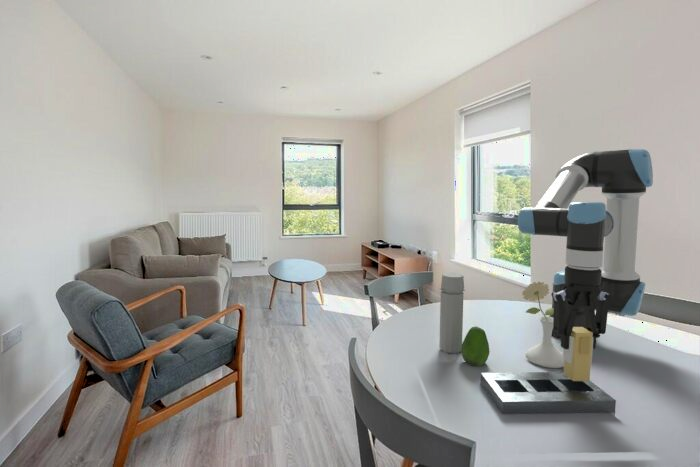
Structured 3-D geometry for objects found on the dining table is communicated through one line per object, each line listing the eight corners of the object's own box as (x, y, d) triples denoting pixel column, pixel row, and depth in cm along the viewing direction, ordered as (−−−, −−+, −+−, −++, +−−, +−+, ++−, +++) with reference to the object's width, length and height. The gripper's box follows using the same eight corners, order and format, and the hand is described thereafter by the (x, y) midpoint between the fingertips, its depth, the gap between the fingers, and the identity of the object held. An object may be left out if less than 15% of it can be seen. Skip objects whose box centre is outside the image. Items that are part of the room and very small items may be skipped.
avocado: (485, 373, 109) (486, 333, 107) (457, 367, 113) (459, 327, 112) (491, 363, 115) (492, 324, 114) (465, 357, 120) (466, 320, 118)
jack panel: (577, 386, 102) (578, 371, 101) (614, 416, 88) (615, 400, 87) (480, 387, 101) (480, 372, 101) (502, 418, 87) (502, 401, 87)
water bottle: (464, 355, 121) (466, 278, 118) (438, 353, 122) (440, 277, 120) (461, 344, 130) (463, 272, 127) (437, 342, 131) (439, 271, 129)
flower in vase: (563, 358, 119) (568, 279, 116) (571, 374, 108) (576, 288, 105) (517, 352, 123) (521, 276, 120) (521, 368, 112) (524, 284, 110)
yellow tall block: (579, 373, 96) (582, 326, 95) (591, 382, 91) (594, 333, 90) (563, 373, 96) (566, 326, 94) (574, 382, 91) (577, 333, 90)
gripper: (607, 263, 95) (601, 354, 97) (539, 264, 95) (534, 354, 97) (630, 269, 87) (622, 367, 90) (556, 270, 87) (550, 368, 90)
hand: (577, 360), depth 93 cm, fingers closed on yellow tall block, 4 cm apart
